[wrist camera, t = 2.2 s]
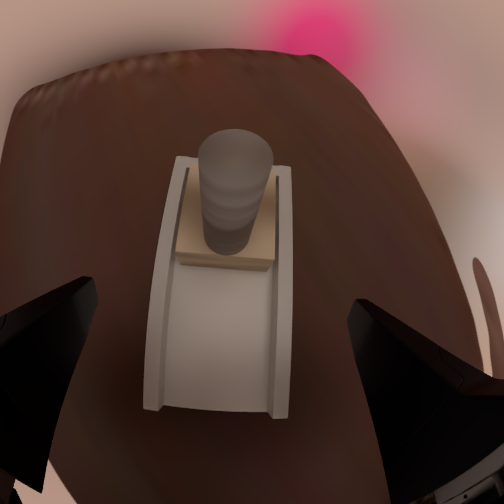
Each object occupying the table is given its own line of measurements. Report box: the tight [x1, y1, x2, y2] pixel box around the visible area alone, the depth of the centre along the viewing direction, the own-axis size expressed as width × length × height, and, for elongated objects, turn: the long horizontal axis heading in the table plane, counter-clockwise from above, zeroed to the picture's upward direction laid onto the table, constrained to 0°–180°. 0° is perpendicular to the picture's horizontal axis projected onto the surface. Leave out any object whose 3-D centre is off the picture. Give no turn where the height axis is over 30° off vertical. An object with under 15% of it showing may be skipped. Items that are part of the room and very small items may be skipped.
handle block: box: [175, 129, 276, 272], centre depth 16 cm, size 7×6×11 cm
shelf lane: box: [143, 156, 293, 419], centre depth 19 cm, size 19×10×3 cm, turn 177°
